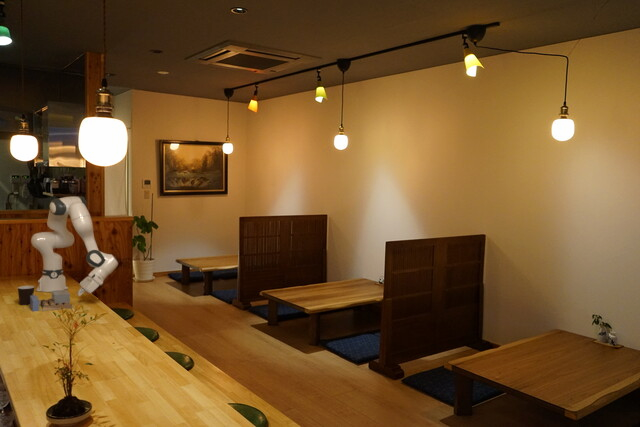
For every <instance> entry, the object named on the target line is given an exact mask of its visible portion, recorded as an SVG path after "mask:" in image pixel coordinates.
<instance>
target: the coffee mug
mask: <svg viewBox="0 0 640 427" xmlns="http://www.w3.org/2000/svg"><path fill="white" fill-rule="evenodd" d="M34 292H35V286H34V285H23V286H22V285H21V286H18V287H17V295H18V301H19V306H30V296H33V295H35V294H34Z"/></svg>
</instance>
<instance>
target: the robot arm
mask: <svg viewBox="0 0 640 427" xmlns="http://www.w3.org/2000/svg"><path fill="white" fill-rule="evenodd" d="M48 206H49V211H48V217H47V221H46V224H47V227H48V228H49V229H50V230H52V231H41V232H37V233H34V234H33V235H32V237H31V240H30V243H31V245H32V247H34V248H35V249H36V250H37V251H38V252H40V254H41V256H42V263H43V265H42V266H43V269H42V272H41V273H42V275H41V277H40V279H38V280H37V281H38V282H37V283H38V285H37V287H36V289H35V290H36V292H45V293H50V292H51V293H52V291H56V290H68V289H69V287H68V286H67V285H66V276H65V275H64V274H63V273H64V268H63V257H62V256H61V254H59V253H57V252H54V249H61V248H62V249H63V248H64V249H65V248H68V247H69V248H70V247H71V246H73V244H74V243H75V237H74V234H73V233H72V232H71V231H69V229H68V228H67V223H68V222H67V221H68V216H69V217H70V221H71V224H72V226H73V227H74V229H75V232H77V235H79V237H81V239H82V241H83V243H84V245H85V248H86V251H87V253H86V255H85V257H86V258H85V259H86V262H87V264H88V265H89V267H91V269H92V270H91V271H90V272H89V273H88V274H87V275H88V276H86V277H85V278H84V279H82V280H81V281H80V283H79V285H80V288H79V290H78V291H77V292H76V294H77V295H78V296H79V297H81V295H83V294H85V293H86V292H87V293H88V294H92V293H93V292H94V291H95V290H97V289H98V288H99V287H100V286H102V285H103V284H104V281H105V279H107V277H108V276H109V275H110V274H112V273H113V272H114V270H115V269H116V268H117V267H118V265H119V261H118V260H117V258H116V257H115V255H113V254H111V253H110V254H109V253H105V252H103V251H100V250H99V248H98V244H97V242H96V239H95V234H94V225H93V220H92V216H91V214H90V212H89V210H88V208H87V207H88V202H87V200H86V198H84V196H81V195H80V196H79V195H75V196H65V197H64V196H63V197H60V198H54V199H51V201H50V203H49V205H48Z"/></svg>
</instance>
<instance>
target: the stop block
mask: <svg viewBox="0 0 640 427" xmlns="http://www.w3.org/2000/svg"><path fill="white" fill-rule="evenodd" d="M29 307H30V309H31V311H32V312H40V305H39V297H38V296H37V295H36V294H33V296H30V305H29Z"/></svg>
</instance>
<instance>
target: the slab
mask: <svg viewBox="0 0 640 427" xmlns="http://www.w3.org/2000/svg"><path fill="white" fill-rule="evenodd" d="M50 299H52V301H53V302H54V304H56V303H67V302H69V303H70V302H71V294H70V292H69V291H68V289H64V290H56V291H52V292H51V298H50Z"/></svg>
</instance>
